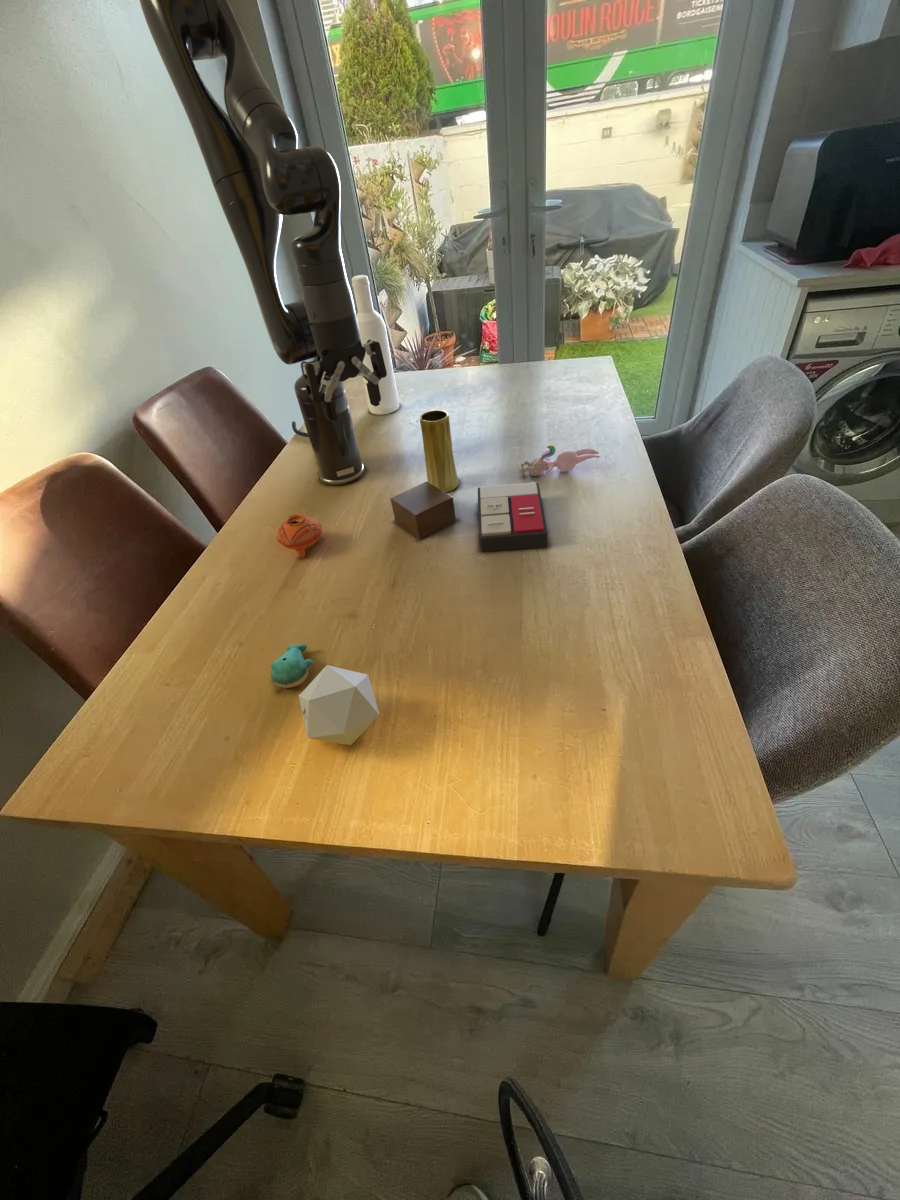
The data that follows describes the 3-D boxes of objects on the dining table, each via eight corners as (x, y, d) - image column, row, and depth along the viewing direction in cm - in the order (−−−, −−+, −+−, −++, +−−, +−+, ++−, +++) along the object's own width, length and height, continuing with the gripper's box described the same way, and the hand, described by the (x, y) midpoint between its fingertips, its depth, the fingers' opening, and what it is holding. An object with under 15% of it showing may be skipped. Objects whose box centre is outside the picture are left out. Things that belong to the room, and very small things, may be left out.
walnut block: (395, 522, 101) (390, 498, 97) (430, 504, 104) (426, 481, 101) (419, 539, 96) (415, 515, 92) (456, 521, 99) (453, 496, 95)
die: (331, 694, 72) (273, 683, 64) (384, 663, 69) (330, 648, 61) (346, 756, 68) (286, 753, 60) (402, 726, 66) (348, 719, 57)
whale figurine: (267, 692, 73) (257, 673, 70) (281, 652, 78) (272, 633, 76) (309, 690, 72) (301, 671, 70) (320, 649, 78) (313, 630, 75)
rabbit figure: (524, 487, 107) (603, 470, 104) (518, 460, 103) (600, 441, 100) (522, 472, 112) (597, 455, 109) (517, 445, 108) (594, 427, 105)
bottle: (398, 413, 138) (374, 278, 119) (367, 416, 139) (339, 282, 119) (401, 400, 144) (378, 270, 125) (371, 404, 145) (344, 274, 125)
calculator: (478, 534, 88) (477, 483, 99) (480, 555, 91) (478, 503, 102) (547, 529, 87) (538, 478, 98) (547, 550, 90) (538, 498, 101)
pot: (271, 559, 95) (262, 522, 92) (297, 542, 102) (290, 507, 99) (310, 564, 93) (303, 526, 90) (334, 546, 99) (328, 510, 96)
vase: (455, 493, 106) (447, 422, 97) (424, 493, 107) (413, 423, 98) (461, 477, 110) (453, 408, 101) (431, 477, 112) (421, 409, 102)
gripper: (358, 298, 91) (377, 395, 102) (280, 321, 86) (309, 421, 96) (382, 304, 87) (399, 405, 97) (300, 328, 81) (328, 433, 92)
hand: (354, 413), depth 97 cm, fingers open, 8 cm apart
